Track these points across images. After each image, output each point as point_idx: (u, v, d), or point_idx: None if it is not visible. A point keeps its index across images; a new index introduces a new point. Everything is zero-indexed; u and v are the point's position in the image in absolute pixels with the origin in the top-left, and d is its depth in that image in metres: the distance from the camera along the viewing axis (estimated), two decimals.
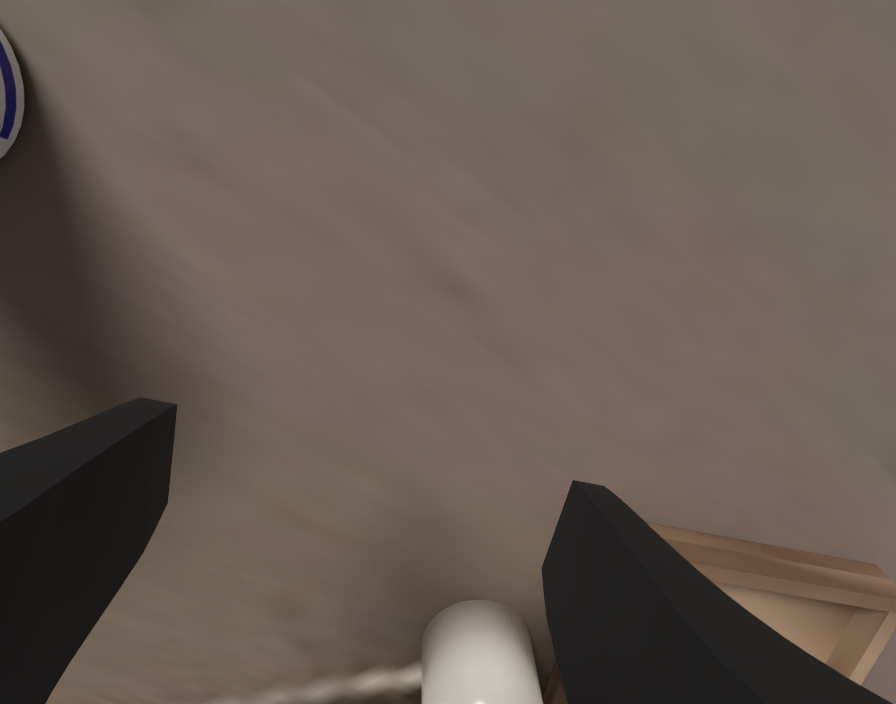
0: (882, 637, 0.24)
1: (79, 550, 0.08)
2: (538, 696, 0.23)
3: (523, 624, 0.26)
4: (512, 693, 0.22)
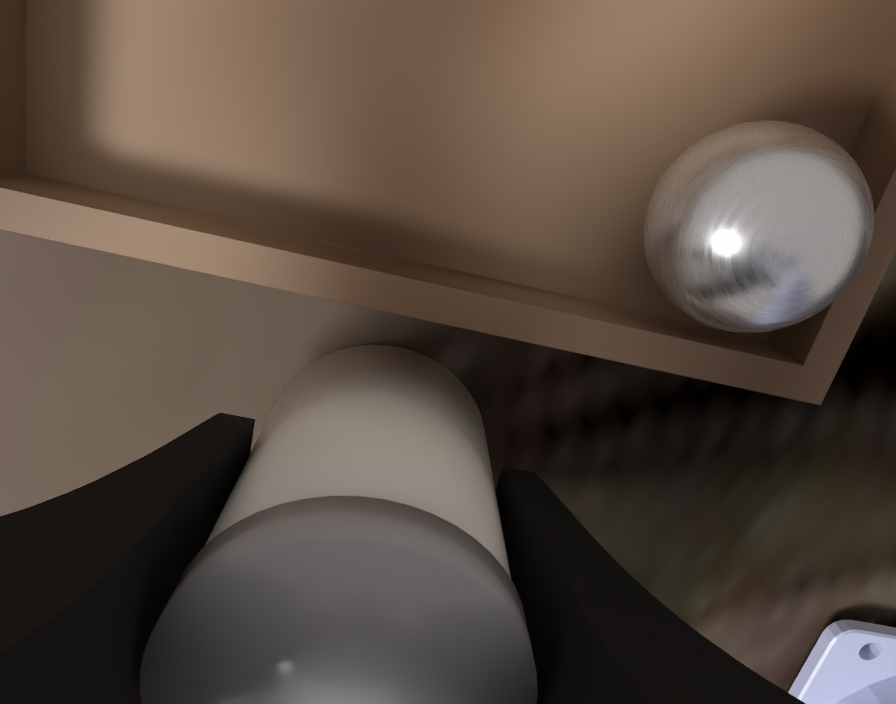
0: None
1: (180, 567, 0.09)
2: (279, 452, 0.09)
3: (309, 369, 0.12)
4: None
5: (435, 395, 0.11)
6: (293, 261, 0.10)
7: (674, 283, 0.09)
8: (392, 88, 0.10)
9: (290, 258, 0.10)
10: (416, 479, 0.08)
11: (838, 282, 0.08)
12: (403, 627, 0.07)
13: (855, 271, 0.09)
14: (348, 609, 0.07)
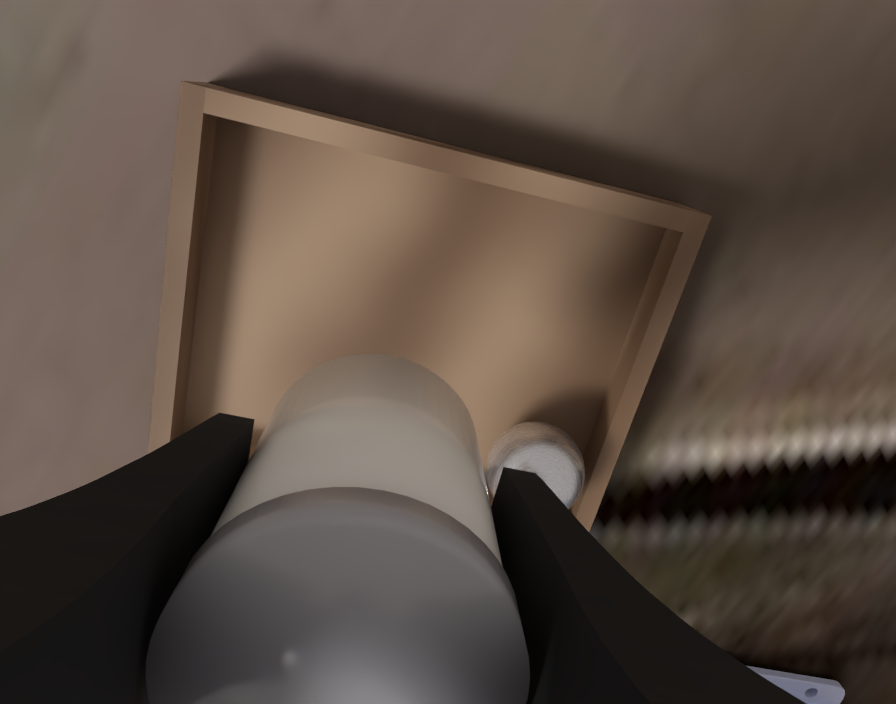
0: (252, 111, 0.16)
1: (180, 567, 0.09)
2: (280, 451, 0.09)
3: (307, 377, 0.13)
4: None
5: (430, 401, 0.11)
6: None
7: None
8: None
9: None
10: (411, 475, 0.09)
11: None
12: (401, 611, 0.07)
13: (571, 501, 0.19)
14: (348, 594, 0.07)
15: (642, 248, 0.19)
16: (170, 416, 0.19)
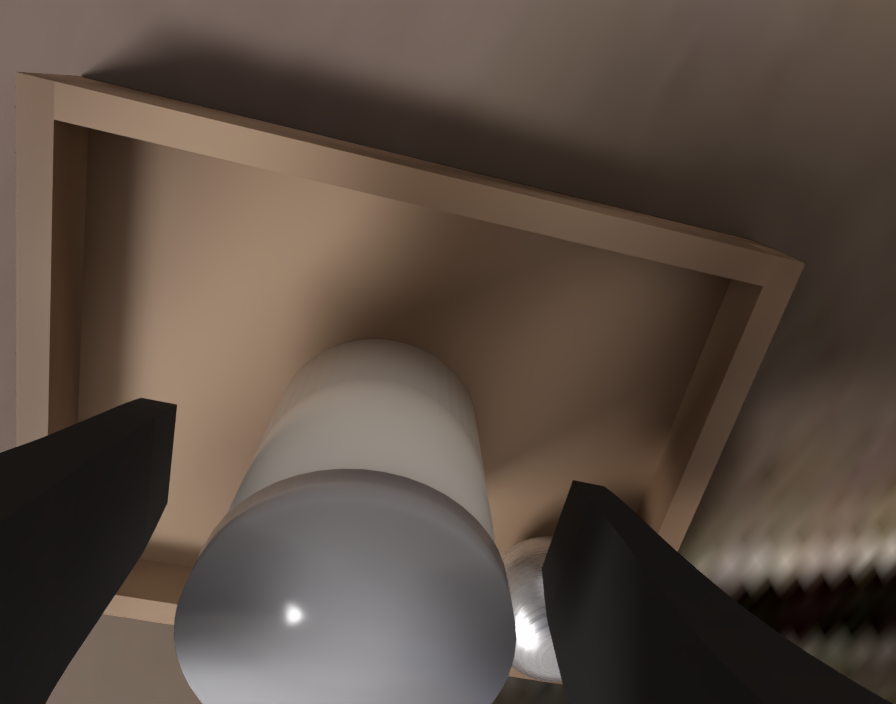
0: (127, 116, 0.11)
1: (79, 550, 0.08)
2: (291, 433, 0.10)
3: (315, 360, 0.13)
4: None
5: (430, 385, 0.12)
6: None
7: None
8: None
9: None
10: (411, 457, 0.09)
11: None
12: (400, 580, 0.08)
13: None
14: (353, 564, 0.08)
15: (698, 303, 0.14)
16: None
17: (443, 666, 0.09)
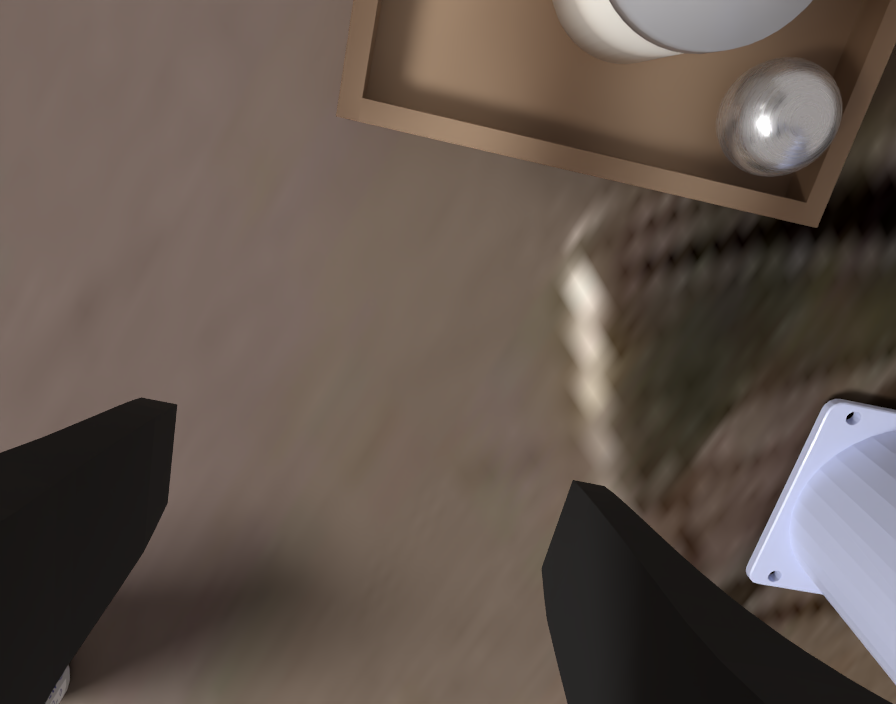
0: None
1: (79, 550, 0.08)
2: None
3: None
4: None
5: None
6: (524, 141, 0.18)
7: (737, 146, 0.17)
8: (574, 46, 0.18)
9: (522, 140, 0.18)
10: None
11: (823, 138, 0.16)
12: None
13: (832, 133, 0.16)
14: None
15: None
16: (368, 50, 0.17)
17: None
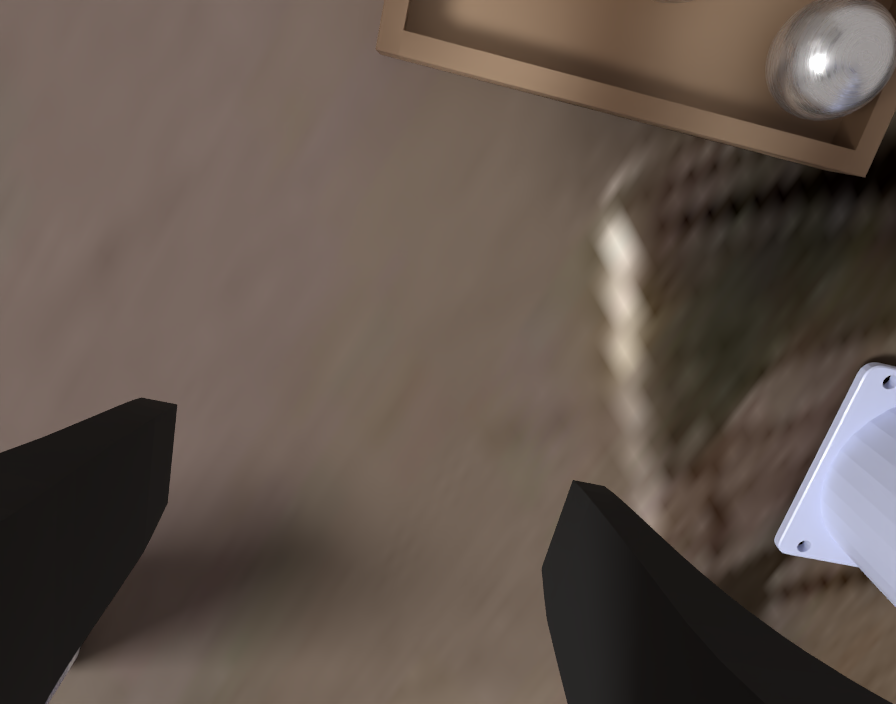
0: None
1: (79, 550, 0.08)
2: None
3: None
4: None
5: None
6: (568, 80, 0.17)
7: (789, 86, 0.16)
8: None
9: (567, 78, 0.17)
10: None
11: (881, 76, 0.16)
12: None
13: (890, 72, 0.16)
14: None
15: None
16: None
17: None
